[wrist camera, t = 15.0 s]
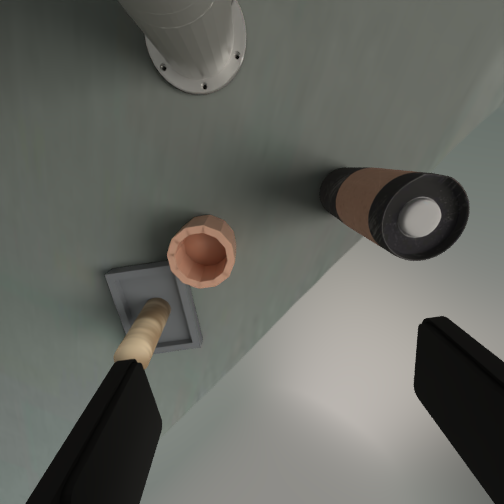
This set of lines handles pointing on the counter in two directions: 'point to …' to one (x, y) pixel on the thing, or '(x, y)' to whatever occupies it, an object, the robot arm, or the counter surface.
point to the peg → (144, 332)
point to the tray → (156, 286)
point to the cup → (203, 252)
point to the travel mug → (398, 208)
